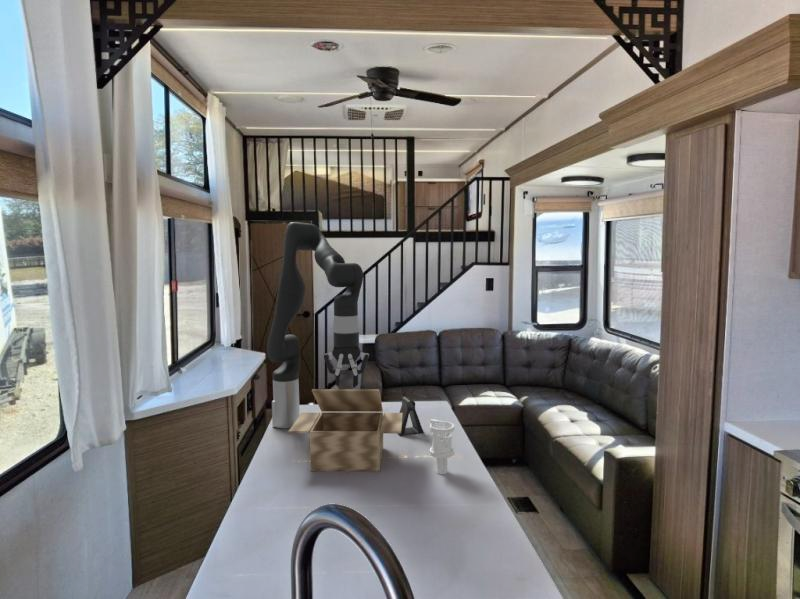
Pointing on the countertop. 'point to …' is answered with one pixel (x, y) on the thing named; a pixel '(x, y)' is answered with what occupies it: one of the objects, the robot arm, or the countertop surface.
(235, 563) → the countertop surface
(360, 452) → the carton
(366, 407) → the lid flap
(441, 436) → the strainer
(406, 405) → the phone stand
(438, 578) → the countertop surface
